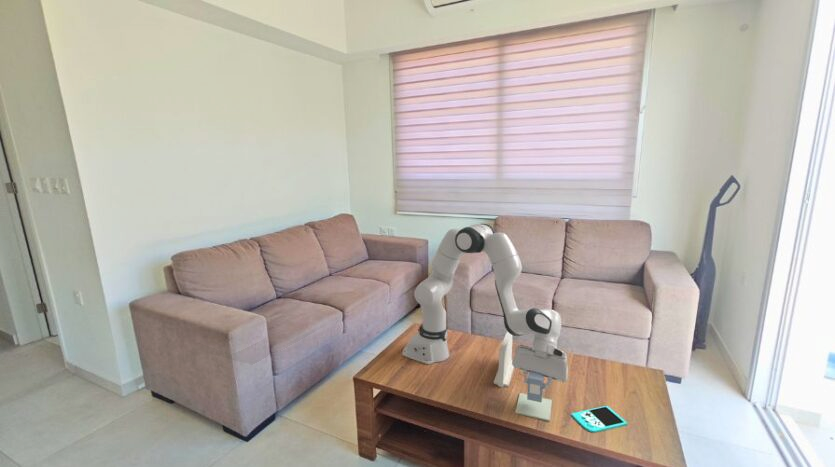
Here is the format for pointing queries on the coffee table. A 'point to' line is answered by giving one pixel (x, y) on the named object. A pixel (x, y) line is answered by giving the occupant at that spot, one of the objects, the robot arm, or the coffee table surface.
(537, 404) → the sage mat
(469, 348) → the coffee table surface
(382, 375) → the coffee table surface
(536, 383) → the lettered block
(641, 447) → the coffee table surface
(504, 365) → the screen
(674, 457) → the coffee table surface
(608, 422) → the handheld game console
